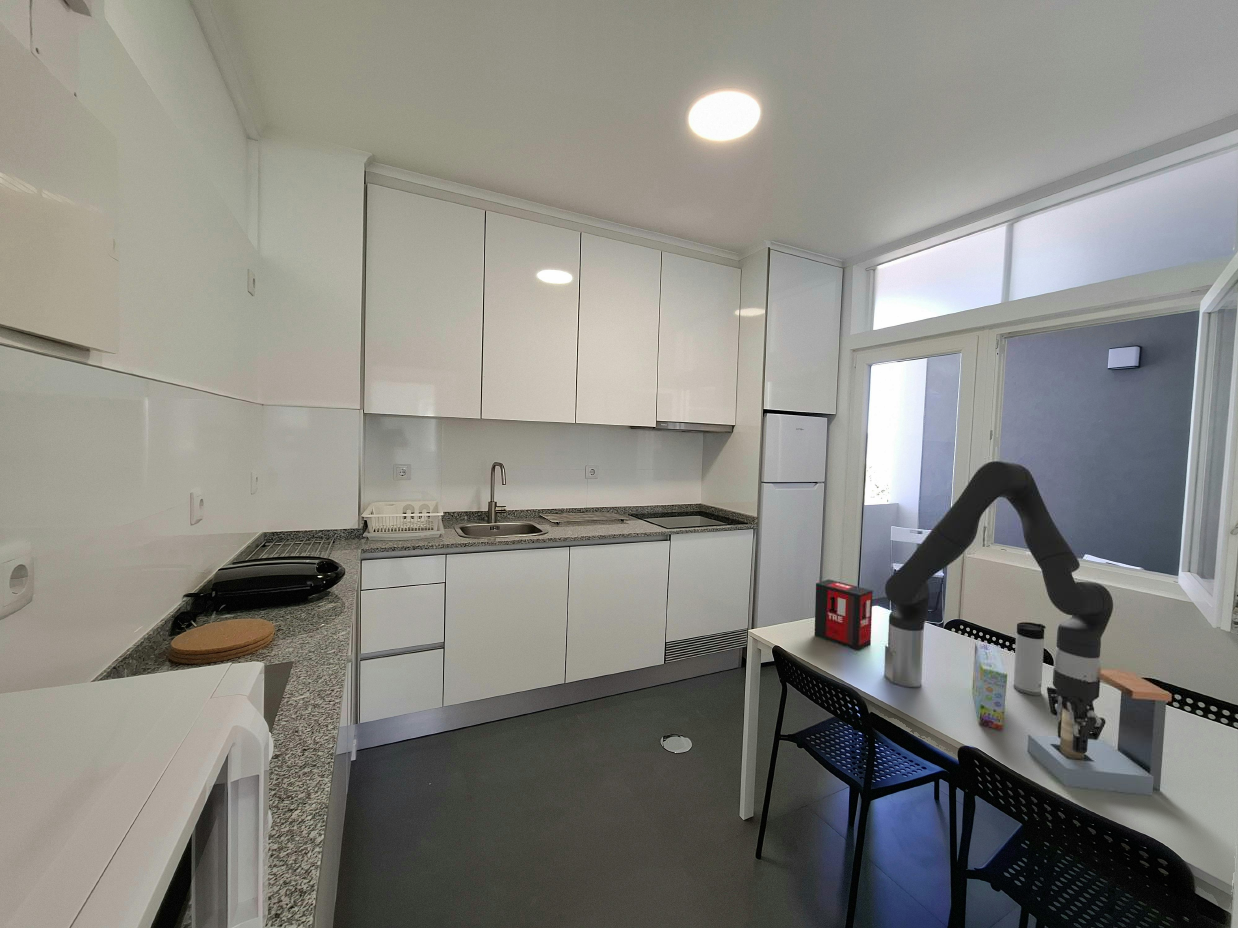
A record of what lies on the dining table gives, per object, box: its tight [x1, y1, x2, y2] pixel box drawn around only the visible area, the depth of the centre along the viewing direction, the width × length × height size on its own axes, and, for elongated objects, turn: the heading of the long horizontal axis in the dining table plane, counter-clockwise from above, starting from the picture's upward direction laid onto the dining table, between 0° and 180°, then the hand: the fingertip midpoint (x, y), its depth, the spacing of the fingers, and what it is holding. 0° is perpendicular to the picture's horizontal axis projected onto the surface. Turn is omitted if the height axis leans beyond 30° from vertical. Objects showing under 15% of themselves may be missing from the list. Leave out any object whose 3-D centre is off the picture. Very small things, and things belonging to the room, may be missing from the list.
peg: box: [1060, 708, 1085, 761], centre depth 107 cm, size 4×4×12 cm
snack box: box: [971, 641, 1008, 731], centre depth 132 cm, size 21×6×15 cm, turn 148°
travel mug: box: [1012, 621, 1046, 696], centre depth 142 cm, size 6×7×20 cm
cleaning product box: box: [814, 579, 873, 652], centre depth 176 cm, size 16×9×20 cm, turn 37°
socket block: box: [1026, 733, 1154, 796], centre depth 107 cm, size 16×12×4 cm
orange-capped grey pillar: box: [1100, 668, 1173, 791], centre depth 106 cm, size 7×10×22 cm
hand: (1071, 745), depth 107 cm, fingers closed on peg, 3 cm apart
